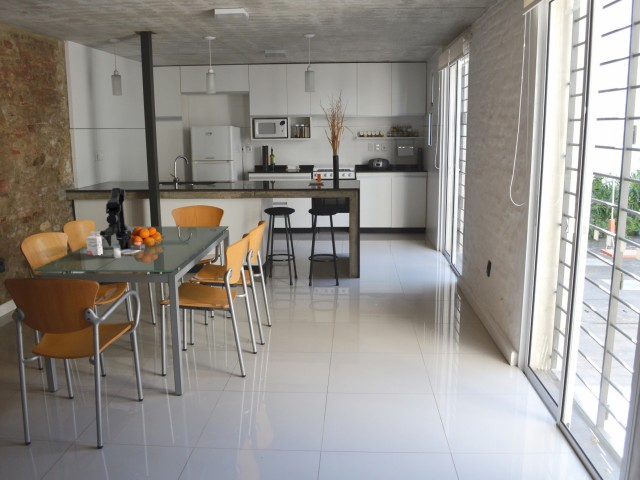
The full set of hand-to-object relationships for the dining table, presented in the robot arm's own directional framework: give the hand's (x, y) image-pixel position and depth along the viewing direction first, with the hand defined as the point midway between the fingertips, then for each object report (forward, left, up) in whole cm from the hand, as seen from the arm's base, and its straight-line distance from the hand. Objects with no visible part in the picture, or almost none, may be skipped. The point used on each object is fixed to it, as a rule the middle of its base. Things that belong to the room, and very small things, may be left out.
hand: (116, 246), depth 374 cm
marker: (0, 0, -7) cm, 7 cm away
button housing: (0, +24, -7) cm, 25 cm away
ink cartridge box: (-20, +6, -7) cm, 22 cm away
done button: (0, +24, -5) cm, 24 cm away
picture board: (0, +12, -7) cm, 14 cm away
